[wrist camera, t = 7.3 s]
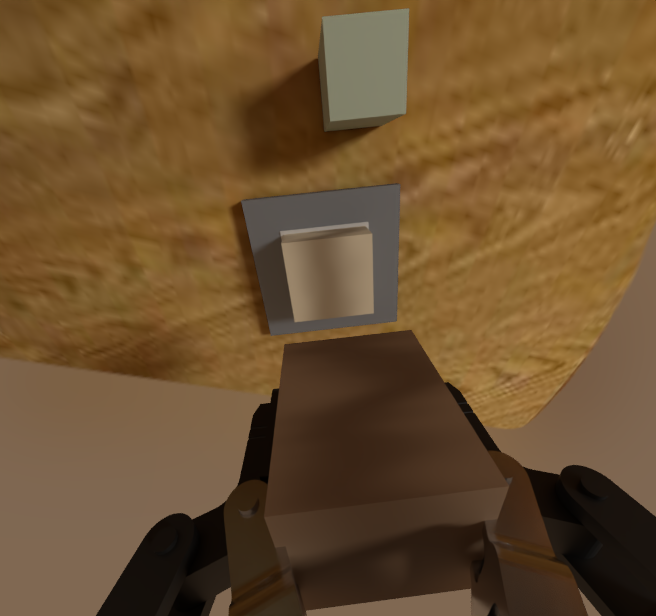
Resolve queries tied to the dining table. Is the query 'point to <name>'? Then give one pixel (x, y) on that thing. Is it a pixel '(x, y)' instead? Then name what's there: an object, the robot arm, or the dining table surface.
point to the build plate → (316, 215)
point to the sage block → (363, 68)
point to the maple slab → (329, 273)
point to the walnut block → (375, 473)
